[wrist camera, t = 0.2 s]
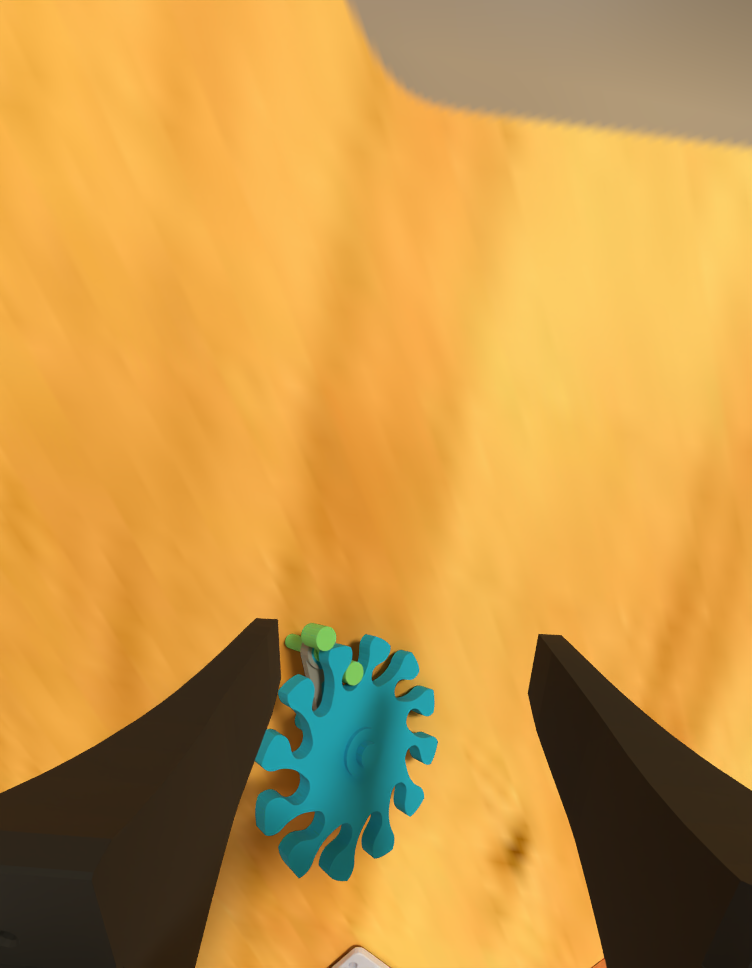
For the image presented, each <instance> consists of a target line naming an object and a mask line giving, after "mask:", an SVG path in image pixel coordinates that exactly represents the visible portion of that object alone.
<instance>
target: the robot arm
mask: <svg viewBox="0 0 752 968" xmlns="http://www.w3.org/2000/svg"><path fill="white" fill-rule="evenodd" d="M280 680H281V670H280V651H279V633H278V619H261V618H256V619H255V620H254V621H253V622H252V623H250V624H249V625H248V626H247V627H246V628H245V629H244V630H243V631H242V632H241V633H240V634H239V635H238V636H237V637H236V638H235V639H234V640H233V641H232V642H231V643H230V644H229V645H228V646H227V647H226V648H225V649H224V650H223V651H222V652H220V653H219V654H218V655H217V656H216V657H215V658H214V659H213V660H212V661H211V662H210V663H209V664H207V665H206V666H205V667H204V668H203V669H202V670H201V671H200V672H198V673H197V674H196V675H195V676H194V677H193V678H191V679H190V680H189V681H188V682H187V683H185V684H184V685H183V686H182V687H181V688H179V689H178V690H177V691H176V692H175V693H173V694H172V695H171V696H169V697H168V698H167V699H166V700H164V701H163V702H162V703H160V704H159V705H157V706H156V707H155V708H153V709H152V710H150V711H149V712H147V713H146V714H145V715H143V716H142V717H140V718H139V719H137V720H136V721H134V722H133V723H131V724H129V725H128V726H126V727H125V728H123V729H121V730H120V731H118V732H117V733H115V734H113V735H112V736H110V737H109V738H107V739H105V740H104V741H102V742H101V743H99V744H97V745H95V746H94V747H92V748H90V749H88V750H87V751H85V752H83V753H81V754H79V755H78V756H76V757H74V758H72V759H70V760H68V761H66V762H64V763H62V764H61V765H59V766H57V767H55V768H53V769H51V770H49V771H47V772H45V773H43V774H41V775H39V776H37V777H35V778H32V779H30V780H28V781H26V782H24V783H22V784H20V785H17V786H15V787H13V788H11V789H9V790H7V791H4V792H2V793H0V968H195V965H196V961H197V957H198V953H199V949H200V945H201V941H202V937H203V933H204V929H205V925H206V921H207V917H208V913H209V909H210V905H211V901H212V897H213V894H214V890H215V886H216V882H217V879H218V875H219V871H220V867H221V863H222V860H223V856H224V852H225V849H226V845H227V842H228V838H229V834H230V831H231V827H232V824H233V820H234V817H235V813H236V810H237V807H238V804H239V801H240V798H241V796H242V793H243V790H244V788H245V785H246V782H247V780H248V777H249V774H250V772H251V769H252V766H253V764H254V761H255V758H256V756H257V753H258V750H259V748H260V745H261V743H262V740H263V737H264V734H265V732H266V729H267V726H268V724H269V721H270V718H271V715H272V712H273V708H274V704H275V701H276V697H277V692H278V688H279V684H280ZM528 696H529V700H530V705H531V710H532V714H533V718H534V722H535V727H536V731H537V734H538V736H539V739H540V742H541V745H542V748H543V751H544V754H545V756H546V759H547V762H548V765H549V768H550V770H551V773H552V776H553V779H554V781H555V784H556V787H557V790H558V792H559V795H560V798H561V801H562V803H563V806H564V809H565V812H566V814H567V817H568V820H569V823H570V826H571V829H572V833H573V836H574V839H575V842H576V846H577V850H578V853H579V857H580V861H581V865H582V869H583V872H584V876H585V880H586V884H587V887H588V892H589V896H590V900H591V904H592V908H593V912H594V916H595V920H596V924H597V928H598V932H599V936H600V940H601V945H602V949H603V954H604V958H605V962H606V967H607V968H752V791H751V790H750V789H748V788H747V787H745V786H744V785H742V784H741V783H739V782H738V781H736V780H735V779H733V778H732V777H730V776H729V775H727V774H725V773H724V772H722V771H721V770H719V769H718V768H716V767H715V766H714V765H712V764H711V763H709V762H708V761H706V760H705V759H703V758H702V757H701V756H699V755H698V754H697V753H695V752H694V751H693V750H691V749H690V748H689V747H687V746H686V745H684V744H683V743H682V742H680V741H679V740H678V739H676V738H675V737H674V736H672V735H671V734H670V733H669V732H667V731H666V730H665V729H664V728H662V727H661V726H660V725H659V724H657V723H656V722H655V721H654V720H653V719H651V718H650V717H649V716H648V715H647V714H645V713H644V712H643V711H642V710H641V709H640V708H638V707H637V706H636V705H635V704H634V703H633V702H631V701H630V700H629V699H628V698H627V697H626V696H625V695H624V694H622V693H621V692H620V691H619V690H618V689H617V688H616V687H615V686H614V685H613V684H612V683H610V682H609V681H608V680H607V679H606V678H605V677H604V676H603V675H602V674H601V673H600V672H599V671H598V670H597V669H596V668H595V667H594V666H593V665H592V664H591V663H590V662H589V661H588V660H586V659H585V658H584V657H583V656H582V655H581V654H580V653H579V652H578V651H577V650H576V649H575V648H574V647H573V646H572V645H571V644H570V643H569V642H568V641H567V640H566V639H565V638H564V637H563V636H562V635H547V634H539V635H538V640H537V646H536V651H535V657H534V662H533V668H532V673H531V679H530V684H529V690H528ZM332 968H390V967H389V966H387V965H386V964H384V963H383V962H382V961H380V960H379V959H378V958H376V957H375V956H374V955H372V954H371V953H369V952H368V951H367V950H365V949H364V948H362V947H355V948H354V949H352V950H351V951H350V952H349V953H348V954H347V955H345V956H344V957H343V958H342V959H341V960H340V961H339V962H337V963H336V964H335V965H334V966H333V967H332Z"/></svg>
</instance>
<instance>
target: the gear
mask: <svg viewBox="0 0 752 968" xmlns="http://www.w3.org/2000/svg"><path fill="white" fill-rule="evenodd" d="M285 644H286V646H287V647H288V648H290V649H293V650H296V651H299V652H300V654H301V659H302V663H303V667H304V672H305V676H306V677H305V676H302V675H300V674H297V675H295V676H293V677H292V678H290V679H289V680H288V681H287V682H286V683H285V684H284V685H283V686H282V687H281V688H280V689H279V690H278V695H279V699H280V701H281V702H282V703H283V704H285V705H287V706H289V707H290V708H292V709H293V710H294V712H295V713H296V717H295V725H296V726H297V727H298V728H299V729H301V730H302V731H303V741H302V743H301V745H300V747H299V748H298V749H297V750H296V751H294V752H291V747H290V743H289V741H288V739H287V738H286V737H285V736H283V735H282V734H280V733H279V732H277V731H276V730H273V729H267V730H266V732H265V734H264V737H263V740H262V743H261V745H260V748H259V750H258V753H257V756H256V758H255V762H257V763H258V764H259V765H260V766H261V767H263V768H264V769H265V770H267V771H276V770H279V769H293V770H296V771H297V772H298V773H299V775H300V784H299V787H298V789H297V790H296V792H295V793H294V794H293V795H291V796H289V797H283V796H282V795H280V794H279V793H278V792H277V791H275V790H273V789H268V790H265V791H263V792H261V793H260V794H259V795H258V797H257V801H256V809H255V816H256V826H257V827H258V828H259V829H260V830H261V831H262V832H263V833H264V834H265V835H267V836H272V835H275V834H277V833H278V832H279V831H281V830H282V828H283V827H284V826H285V825H286V824H287V823H288V822H290V821H291V820H292V819H294V818H295V817H297V816H298V815H301V814H303V813H306V812H312V811H315V815H314V819H313V821H312V823H311V824H310V825H309V826H308V827H307V828H306V829H304V830H299V831H293V832H290V833H289V834H287V835H286V836H285V837H284V838H283V839H282V841H281V842H280V844H279V847H278V848H279V853H280V855H281V858H282V859H283V861H284V862H285V863H286V864H287V866H288V867H289V868H290V869H291V870H292V871H293V872H294V873H295V875H296V876H297V877H298V878H300V877H302V876H303V875H305V874H306V873H307V871H308V870H309V869H310V867H311V865H312V863H313V860H314V858H315V855H316V853H317V851H318V850H319V848H320V846H321V845H322V843H323V842H324V841H325V839H326V838H327V837H328V836H329V835H330V834H331V833H332V832H333V831H334V830H335V829H336V828H338V827H339V826H340V825H341V824H342V826H341V830H340V832H339V834H338V836H337V837H336V838H335V839H334V840H333V841H331V842H330V843H329V844H328V845H327V846H326V847H325V848H324V850H323V852H322V853H321V856H320V859H319V866H320V867H321V868H322V869H323V870H324V871H325V872H326V873H327V874H328V875H329V876H330V877H331V878H332V879H334V880H337V881H347V880H348V879H349V878H350V876H351V874H352V871H353V868H354V855H355V848H356V844H357V840H358V837H359V835H360V832H361V830H362V828H363V826H364V824H365V822H366V820H367V818H368V817H369V815H370V814H371V817H370V820H369V822H368V824H367V826H366V828H365V830H364V832H363V836H362V848H363V850H365V851H366V852H367V853H368V854H369V855H371V856H372V857H373V858H374V859H375V858H380V857H382V856H384V855H385V854H387V853H388V852H390V851H391V850H392V849H393V846H394V834H393V832H392V830H391V827H390V823H389V804H390V797H391V792H392V790H393V788H394V786H395V791H394V804H395V806H396V808H397V809H399V810H400V811H402V812H404V813H405V814H407V815H408V816H412V815H413V814H414V813H415V811H416V810H417V809H418V807H419V806H420V804H421V803H422V801H423V799H424V793H423V790H422V789H421V788H420V787H419V786H417V785H415V784H414V783H413V782H412V781H411V779H410V777H409V775H408V772H407V768H406V763H405V756H406V752H407V750H408V749H409V750H410V754H411V756H412V757H413V758H414V759H416V760H418V761H420V762H422V763H424V764H426V765H429V764H431V762H432V760H433V758H434V755H435V752H436V748H437V743H438V741H437V739H436V738H435V737H433V736H431V735H428V734H426V733H424V732H417V733H412V732H411V731H410V730H409V729H408V728H407V725H406V719H407V715H408V713H409V712H410V711H411V710H412V711H414V712H416V713H419V714H421V715H424V716H430V715H431V714H432V713H433V712H434V691H433V690H432V689H429V688H426V687H423V686H416V687H414V688H413V689H412V690H411V691H410V692H409V693H408V694H406V695H404V696H402V697H398V698H396V697H395V694H394V690H395V686H396V684H397V683H398V681H400V680H402V679H406V680H412V679H414V678H415V677H416V676H417V675H418V673H419V666H418V663H417V661H416V659H415V657H414V655H413V654H412V652H408V651H404V650H399V651H397V652H396V653H395V654H394V656H393V657H392V660H391V662H390V664H389V666H388V668H387V669H386V671H385V672H384V673H383V674H382V675H381V676H379V677H378V678H377V679H375V680H374V681H372V672H373V670H374V668H375V667H376V666H377V665H378V664H380V663H382V662H383V661H385V660H386V659H387V657H388V655H389V653H390V645H389V644H388V643H387V642H386V641H385V640H383V639H381V638H378V637H376V636H371V635H367V634H365V635H364V636H363V637H362V639H361V641H360V646H359V658H358V662H356V661H353V660H352V649H351V647H349V646H345V645H341V644H337V643H336V634H335V631H334V630H333V629H332V628H331V627H327V626H323V625H319V624H315V623H310V624H307V625H306V626H305V627H304V629H303V630H302V634H301V636H299V635H295V634H290V635H288V636H287V637H286V640H285ZM342 682H344V683H346V684H345V685H344V686H343V684H342ZM312 706H313V711H312Z"/></svg>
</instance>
